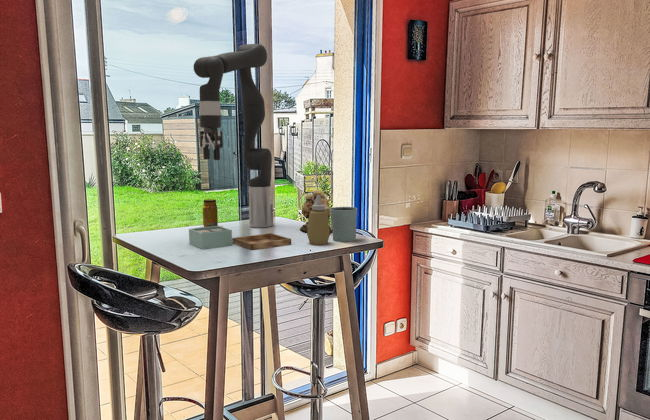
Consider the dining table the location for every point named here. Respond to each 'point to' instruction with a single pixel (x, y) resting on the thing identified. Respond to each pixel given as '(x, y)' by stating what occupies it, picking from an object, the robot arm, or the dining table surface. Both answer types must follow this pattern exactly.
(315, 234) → the squeeze bottle
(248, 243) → the walnut tray
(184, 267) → the dining table surface
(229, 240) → the teal bin
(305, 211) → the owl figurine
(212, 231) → the grey brown block
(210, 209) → the condiment
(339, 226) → the grey green cup
